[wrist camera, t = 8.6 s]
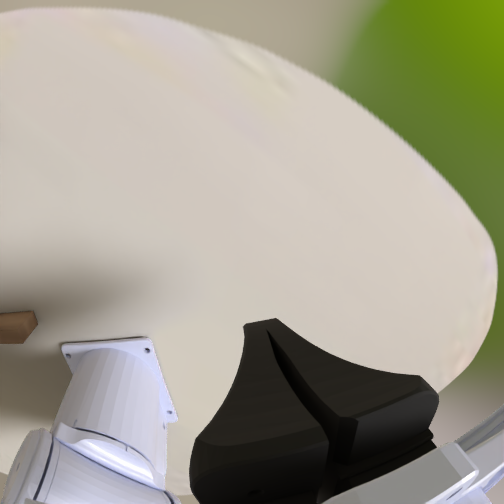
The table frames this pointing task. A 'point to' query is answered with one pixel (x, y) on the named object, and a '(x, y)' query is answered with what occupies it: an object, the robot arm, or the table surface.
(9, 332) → the brown wooden tray
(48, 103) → the table surface
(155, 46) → the table surface
